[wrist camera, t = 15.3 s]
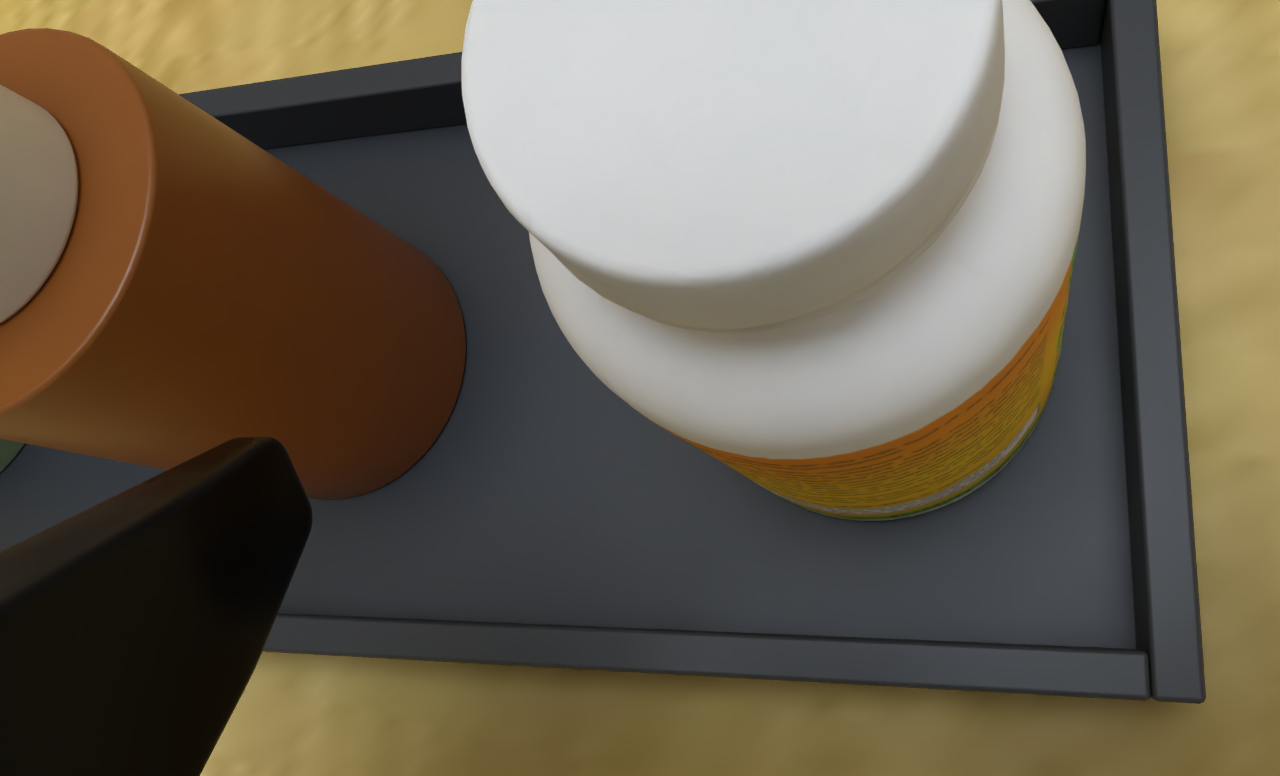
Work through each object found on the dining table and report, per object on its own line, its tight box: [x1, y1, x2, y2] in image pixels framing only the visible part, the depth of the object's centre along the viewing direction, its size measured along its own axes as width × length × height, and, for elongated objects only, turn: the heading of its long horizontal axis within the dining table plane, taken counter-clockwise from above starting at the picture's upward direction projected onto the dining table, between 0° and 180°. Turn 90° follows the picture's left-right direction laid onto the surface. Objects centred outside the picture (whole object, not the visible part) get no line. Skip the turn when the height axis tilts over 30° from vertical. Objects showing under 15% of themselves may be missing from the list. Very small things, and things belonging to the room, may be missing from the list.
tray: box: [0, 0, 1206, 704], centre depth 19 cm, size 27×10×2 cm, turn 88°
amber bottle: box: [0, 28, 466, 500], centre depth 15 cm, size 5×5×10 cm
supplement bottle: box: [461, 0, 1086, 521], centre depth 12 cm, size 5×5×10 cm
